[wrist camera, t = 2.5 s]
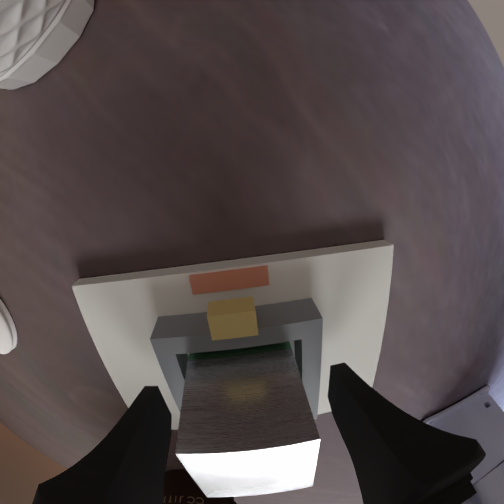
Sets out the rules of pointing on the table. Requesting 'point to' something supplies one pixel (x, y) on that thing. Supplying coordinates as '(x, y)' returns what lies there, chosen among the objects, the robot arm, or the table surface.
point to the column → (247, 422)
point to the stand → (242, 316)
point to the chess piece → (6, 330)
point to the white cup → (37, 36)
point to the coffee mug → (187, 490)
